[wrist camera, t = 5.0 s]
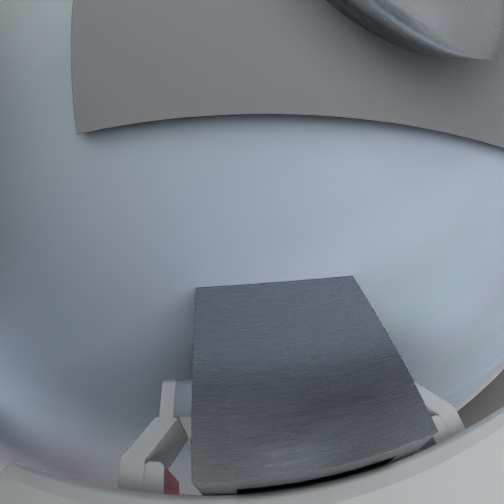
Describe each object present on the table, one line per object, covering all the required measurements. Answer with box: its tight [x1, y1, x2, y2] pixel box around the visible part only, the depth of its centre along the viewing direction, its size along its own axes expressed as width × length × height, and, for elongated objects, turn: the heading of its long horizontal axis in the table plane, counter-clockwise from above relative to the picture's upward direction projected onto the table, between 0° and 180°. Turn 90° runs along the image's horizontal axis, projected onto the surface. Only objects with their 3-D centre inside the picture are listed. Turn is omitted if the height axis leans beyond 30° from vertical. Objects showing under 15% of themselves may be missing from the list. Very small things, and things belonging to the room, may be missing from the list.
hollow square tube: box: [191, 276, 438, 495], centre depth 10 cm, size 6×6×7 cm
